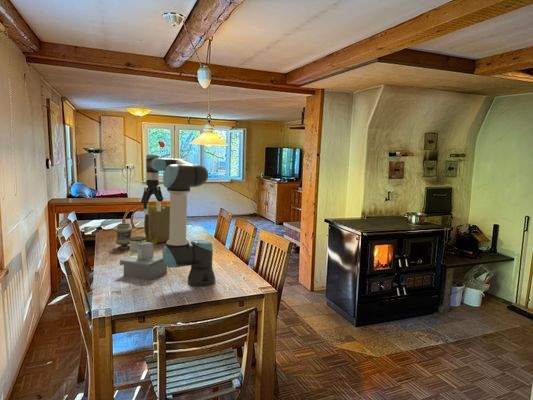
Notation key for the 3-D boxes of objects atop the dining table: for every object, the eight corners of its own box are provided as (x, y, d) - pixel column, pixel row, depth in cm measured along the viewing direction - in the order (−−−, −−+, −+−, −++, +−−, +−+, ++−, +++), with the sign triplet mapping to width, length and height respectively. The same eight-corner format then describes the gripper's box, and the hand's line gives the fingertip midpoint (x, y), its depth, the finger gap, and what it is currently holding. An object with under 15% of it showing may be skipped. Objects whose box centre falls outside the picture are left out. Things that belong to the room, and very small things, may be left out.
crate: (166, 271, 214) (166, 258, 213) (150, 280, 198) (150, 266, 197) (141, 268, 219) (141, 255, 218) (123, 276, 203) (123, 262, 203)
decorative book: (166, 239, 297) (166, 203, 294) (173, 241, 289) (173, 205, 286) (143, 242, 283) (143, 205, 279) (150, 245, 275) (150, 206, 272)
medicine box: (149, 256, 212) (149, 241, 211) (153, 257, 209) (153, 243, 208) (137, 258, 206) (137, 244, 205) (141, 260, 203) (141, 245, 202)
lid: (166, 261, 213) (166, 256, 213) (149, 269, 198) (149, 263, 197) (137, 257, 219) (137, 252, 219) (119, 265, 203) (119, 259, 203)
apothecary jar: (113, 247, 265) (112, 223, 263) (129, 245, 273) (129, 222, 271) (118, 250, 256) (118, 226, 254) (135, 248, 264) (135, 224, 262)
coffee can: (131, 256, 243) (131, 236, 242) (147, 256, 245) (147, 236, 244) (128, 260, 233) (128, 239, 232) (144, 260, 235) (144, 239, 233)
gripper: (158, 178, 237) (158, 209, 239) (134, 179, 213) (135, 215, 216) (168, 178, 235) (168, 210, 237) (145, 180, 211) (145, 215, 213)
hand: (152, 212), depth 226 cm, fingers open, 13 cm apart
